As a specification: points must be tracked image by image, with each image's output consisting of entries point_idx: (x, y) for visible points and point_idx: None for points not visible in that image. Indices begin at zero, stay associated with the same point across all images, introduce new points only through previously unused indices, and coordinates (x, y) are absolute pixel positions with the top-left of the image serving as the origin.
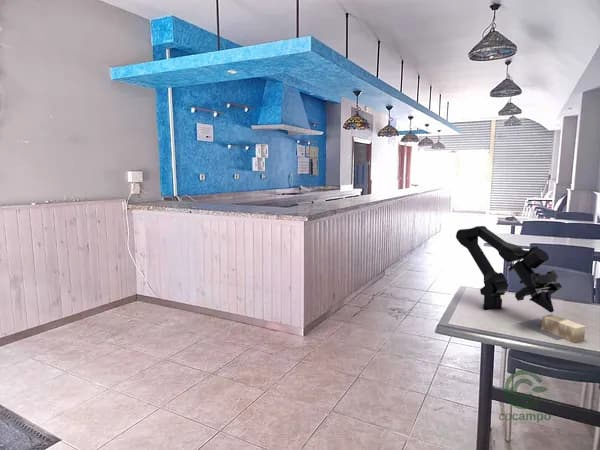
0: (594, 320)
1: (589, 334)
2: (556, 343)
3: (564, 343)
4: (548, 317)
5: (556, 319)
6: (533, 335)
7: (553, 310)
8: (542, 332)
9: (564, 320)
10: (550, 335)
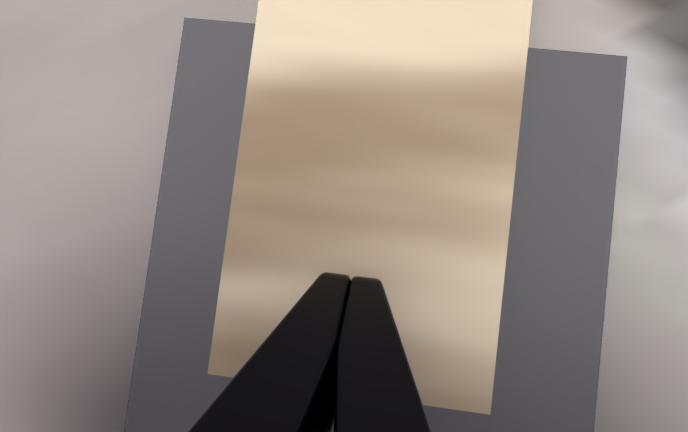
0: None
1: (35, 9)
2: (653, 54)
3: (563, 8)
4: (443, 313)
5: (411, 171)
6: (679, 338)
7: (339, 277)
8: (554, 294)
9: (326, 70)
10: (558, 181)
